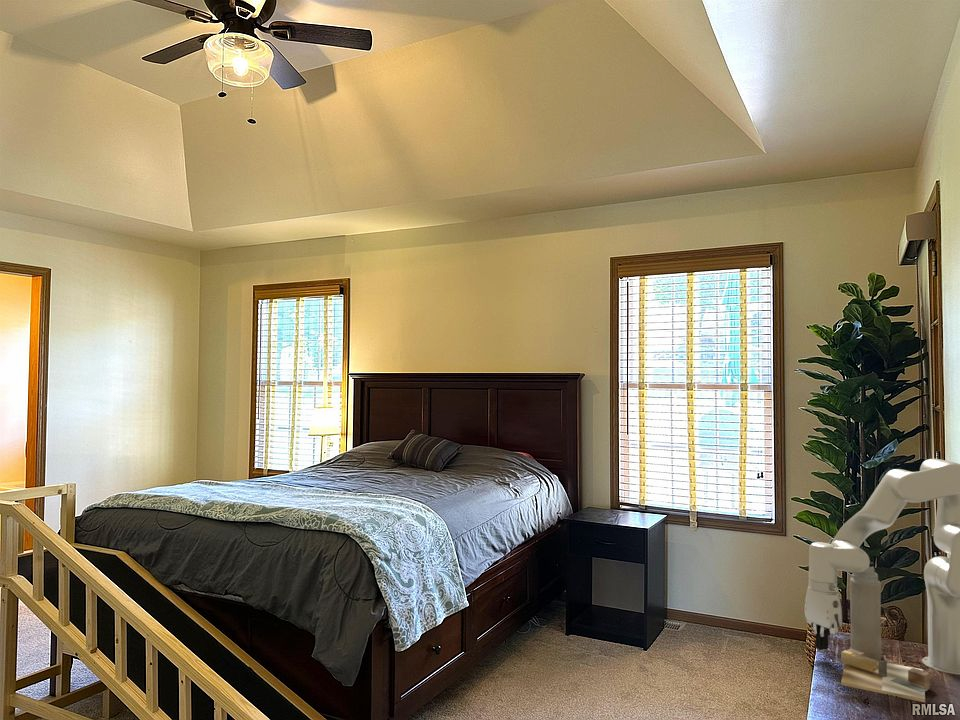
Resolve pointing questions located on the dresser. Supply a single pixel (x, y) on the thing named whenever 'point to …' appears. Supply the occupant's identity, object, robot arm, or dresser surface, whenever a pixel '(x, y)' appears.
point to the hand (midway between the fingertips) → (821, 648)
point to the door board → (888, 679)
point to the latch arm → (858, 661)
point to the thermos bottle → (866, 613)
